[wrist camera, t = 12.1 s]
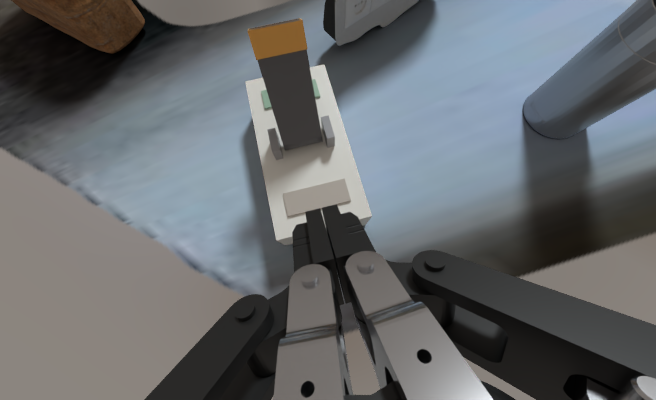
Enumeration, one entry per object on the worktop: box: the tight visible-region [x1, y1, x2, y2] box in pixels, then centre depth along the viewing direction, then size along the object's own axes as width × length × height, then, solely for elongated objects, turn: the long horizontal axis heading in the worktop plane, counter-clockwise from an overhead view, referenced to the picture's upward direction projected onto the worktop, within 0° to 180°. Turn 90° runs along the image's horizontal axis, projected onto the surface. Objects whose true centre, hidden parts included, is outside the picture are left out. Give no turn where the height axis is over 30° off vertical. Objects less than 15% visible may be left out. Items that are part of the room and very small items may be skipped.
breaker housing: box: [246, 65, 372, 246], centre depth 35 cm, size 12×24×8 cm, turn 14°
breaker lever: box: [248, 18, 323, 151], centre depth 28 cm, size 5×3×13 cm
